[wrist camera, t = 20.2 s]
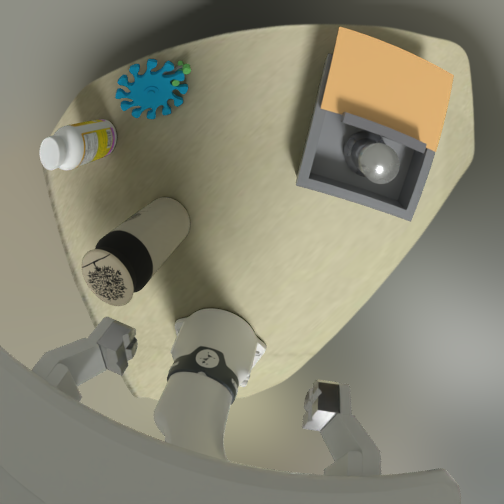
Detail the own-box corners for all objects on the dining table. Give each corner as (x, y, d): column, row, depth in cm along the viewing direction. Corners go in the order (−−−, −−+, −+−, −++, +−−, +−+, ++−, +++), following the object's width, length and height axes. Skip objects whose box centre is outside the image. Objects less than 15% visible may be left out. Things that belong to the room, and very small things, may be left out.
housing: (399, 208, 37) (410, 221, 32) (296, 176, 37) (296, 185, 33) (432, 102, 28) (448, 102, 24) (325, 61, 29) (328, 53, 25)
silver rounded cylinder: (390, 139, 32) (412, 147, 25) (378, 180, 35) (396, 197, 28) (349, 125, 32) (362, 128, 25) (338, 167, 35) (347, 181, 28)
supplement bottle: (84, 138, 39) (30, 154, 28) (103, 110, 37) (47, 119, 25) (104, 164, 41) (51, 186, 30) (125, 137, 38) (70, 152, 27)
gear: (139, 132, 36) (100, 89, 27) (141, 109, 38) (107, 68, 29) (207, 99, 34) (175, 46, 25) (203, 79, 36) (175, 31, 27)
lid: (431, 157, 28) (440, 161, 25) (318, 115, 28) (320, 115, 26) (450, 76, 22) (461, 74, 19) (338, 28, 23) (341, 21, 20)
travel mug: (197, 237, 45) (145, 306, 29) (157, 245, 47) (98, 309, 31) (181, 191, 41) (114, 242, 26) (141, 203, 43) (69, 254, 28)
